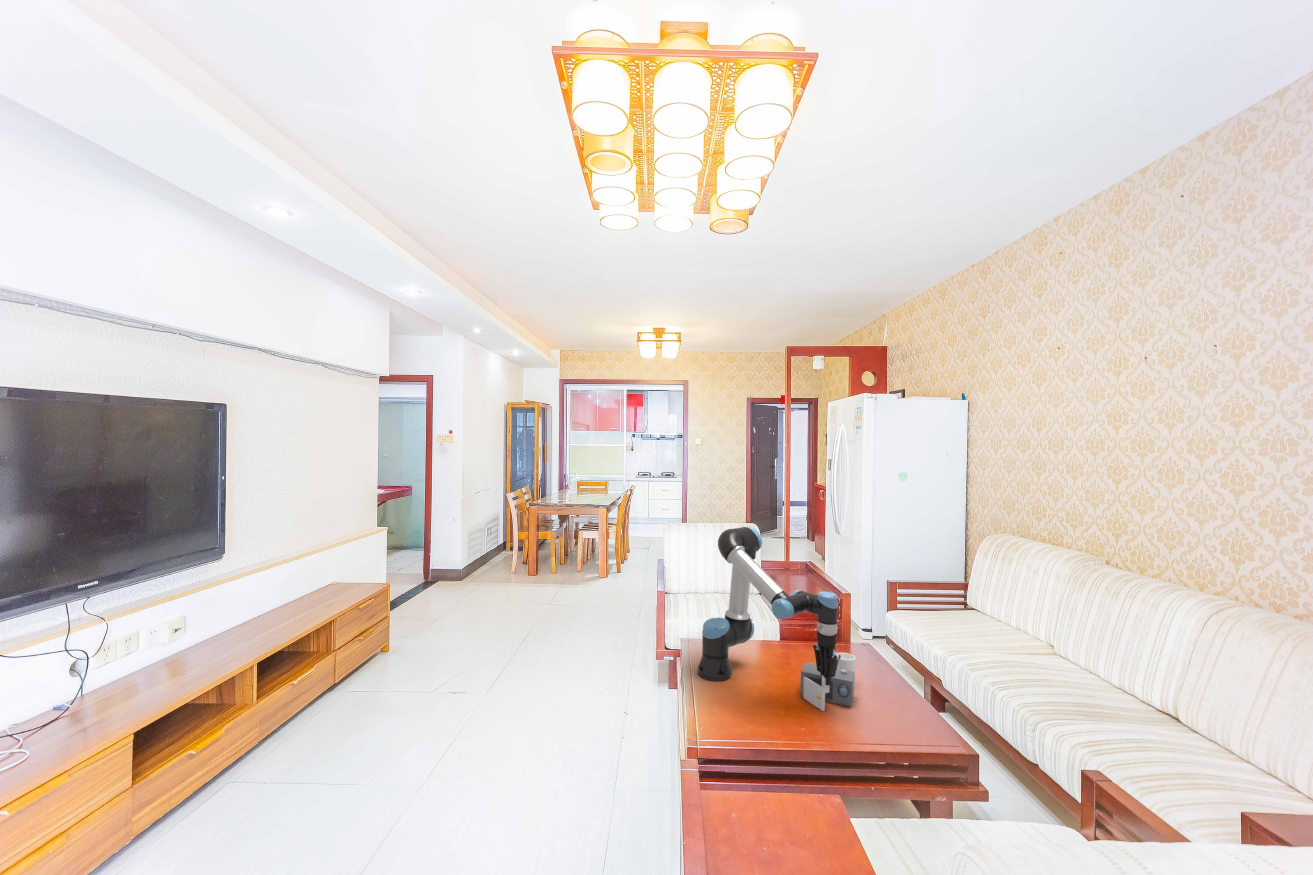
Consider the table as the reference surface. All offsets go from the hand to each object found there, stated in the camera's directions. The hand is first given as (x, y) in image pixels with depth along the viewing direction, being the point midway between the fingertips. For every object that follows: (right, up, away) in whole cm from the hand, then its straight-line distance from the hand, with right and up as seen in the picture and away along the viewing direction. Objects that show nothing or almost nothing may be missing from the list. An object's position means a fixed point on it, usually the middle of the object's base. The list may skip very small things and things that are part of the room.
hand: (825, 691), depth 212 cm
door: (-5, -6, +2) cm, 8 cm away
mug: (+14, -6, +22) cm, 27 cm away
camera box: (+4, -6, +9) cm, 12 cm away
